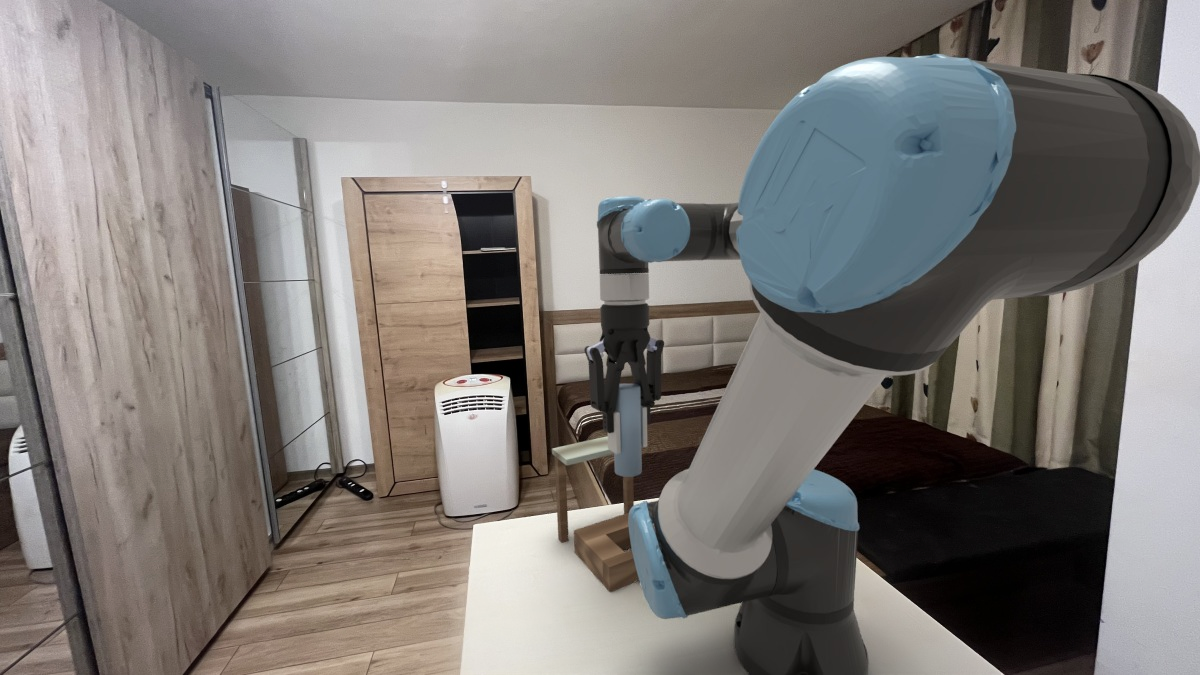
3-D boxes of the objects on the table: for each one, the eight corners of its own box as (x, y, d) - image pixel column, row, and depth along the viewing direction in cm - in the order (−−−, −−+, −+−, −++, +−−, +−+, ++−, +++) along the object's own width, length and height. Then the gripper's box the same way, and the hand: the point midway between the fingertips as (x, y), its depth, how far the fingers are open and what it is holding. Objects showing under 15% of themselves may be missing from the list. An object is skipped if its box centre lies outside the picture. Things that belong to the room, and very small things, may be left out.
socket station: (688, 560, 78) (687, 461, 76) (604, 594, 70) (600, 486, 68) (630, 514, 93) (628, 431, 91) (556, 538, 85) (551, 448, 83)
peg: (632, 463, 79) (630, 382, 78) (647, 472, 76) (645, 387, 74) (609, 469, 77) (607, 385, 75) (623, 479, 74) (621, 391, 72)
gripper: (656, 298, 80) (657, 430, 83) (562, 304, 72) (568, 451, 75) (684, 300, 74) (685, 443, 77) (585, 307, 65) (591, 468, 69)
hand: (627, 447), depth 76 cm, fingers closed on peg, 4 cm apart
